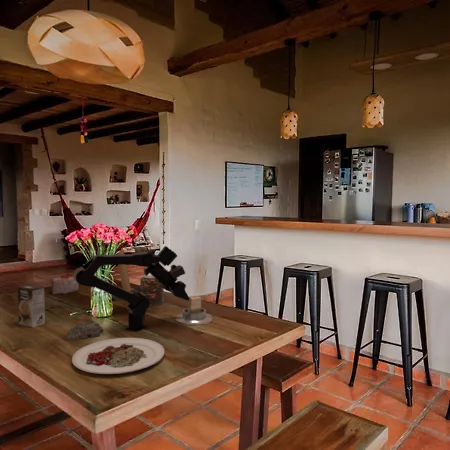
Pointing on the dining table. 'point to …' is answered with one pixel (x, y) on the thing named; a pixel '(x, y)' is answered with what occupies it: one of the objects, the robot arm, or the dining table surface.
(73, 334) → the stone slab
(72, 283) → the food item
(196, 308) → the wedge pin
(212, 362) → the dining table surface
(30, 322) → the coffee box
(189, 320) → the steel rosette
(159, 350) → the plated food
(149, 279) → the jar
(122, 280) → the hammer
